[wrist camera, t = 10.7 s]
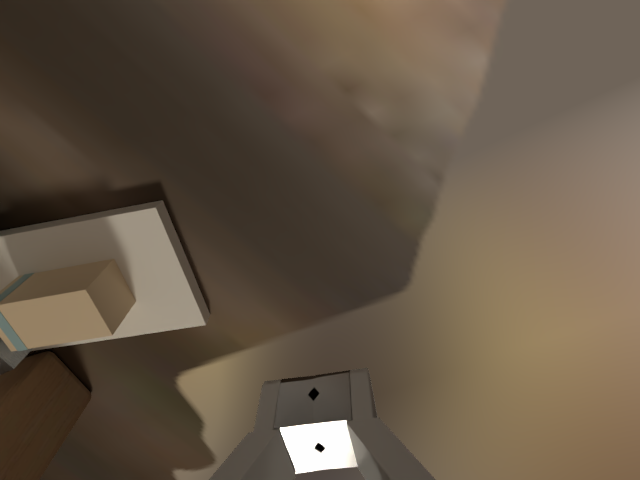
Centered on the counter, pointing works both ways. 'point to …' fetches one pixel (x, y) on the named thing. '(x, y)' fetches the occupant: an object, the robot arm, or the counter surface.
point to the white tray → (130, 255)
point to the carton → (64, 305)
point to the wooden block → (37, 414)
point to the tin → (10, 357)
